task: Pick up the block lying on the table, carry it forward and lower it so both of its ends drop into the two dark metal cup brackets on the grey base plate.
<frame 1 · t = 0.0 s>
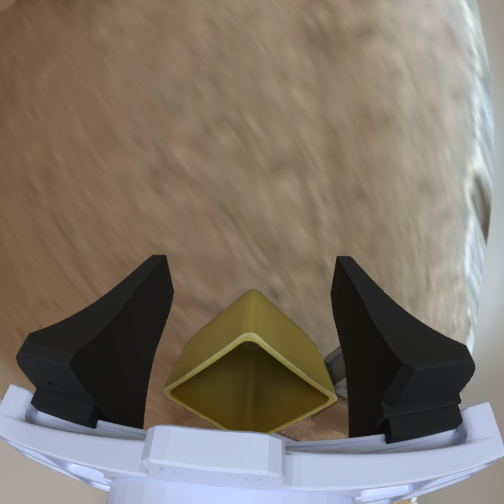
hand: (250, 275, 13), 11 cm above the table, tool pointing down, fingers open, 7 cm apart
block: (351, 399, 31), on the table
bracket: (393, 371, 29), on the table
flower pot: (255, 320, 27), on the table
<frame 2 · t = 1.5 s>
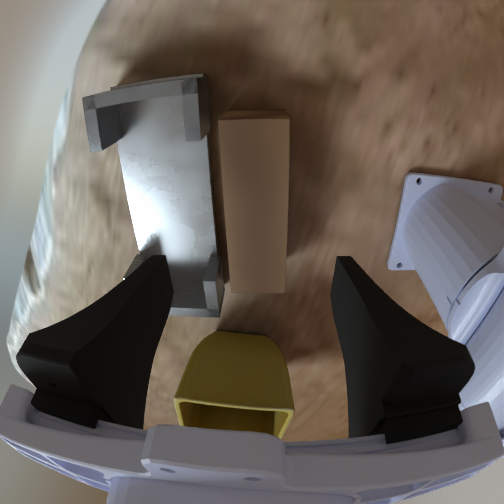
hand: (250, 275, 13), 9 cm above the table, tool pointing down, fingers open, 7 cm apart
block: (258, 190, 21), on the table
bracket: (171, 193, 21), on the table
flower pot: (240, 346, 30), on the table
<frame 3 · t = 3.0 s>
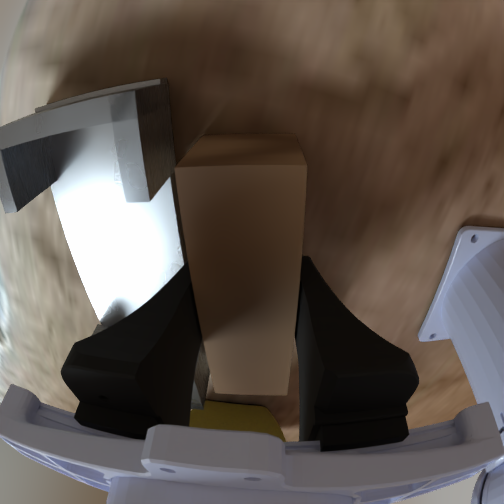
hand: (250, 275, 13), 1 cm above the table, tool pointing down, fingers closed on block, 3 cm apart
block: (252, 254, 14), on the table, touching gripper
bracket: (130, 254, 15), on the table
flower pot: (233, 412, 23), on the table
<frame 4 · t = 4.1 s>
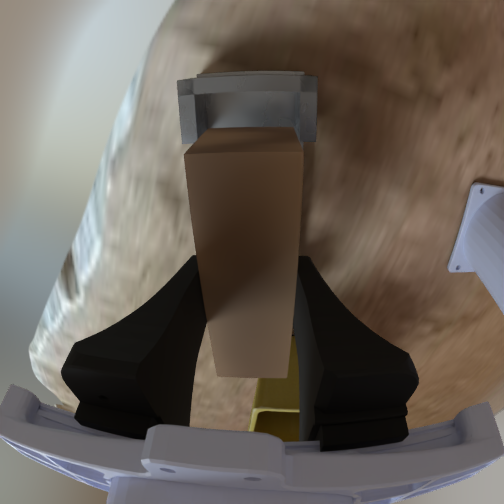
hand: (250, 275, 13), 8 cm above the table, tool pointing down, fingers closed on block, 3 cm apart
block: (253, 241, 15), point 6 cm above the table, touching gripper
bracket: (253, 194, 20), on the table
flower pot: (298, 349, 29), on the table
when the fingers open (3 cm above the table, at t = 5.4 s): block stays where it is, resting on bracket.
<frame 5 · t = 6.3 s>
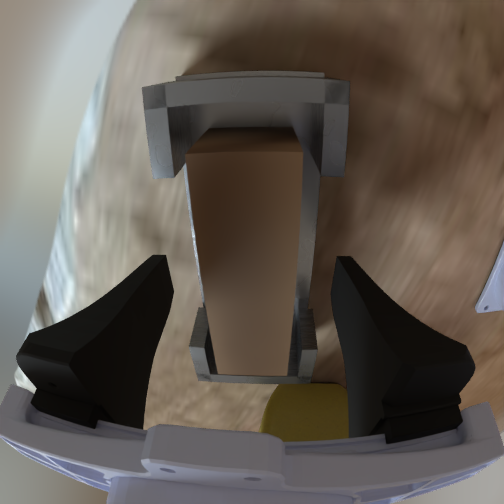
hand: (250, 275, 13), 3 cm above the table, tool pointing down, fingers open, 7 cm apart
block: (253, 240, 15), point 1 cm above the table, touching bracket
bracket: (254, 233, 16), on the table
flower pot: (304, 393, 25), on the table
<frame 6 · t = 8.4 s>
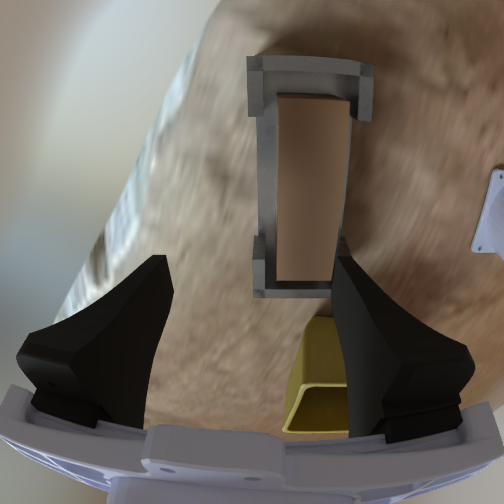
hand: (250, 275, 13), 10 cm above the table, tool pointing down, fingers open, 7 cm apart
block: (303, 175, 20), point 1 cm above the table, touching bracket
bracket: (302, 173, 21), on the table
flower pot: (330, 331, 29), on the table
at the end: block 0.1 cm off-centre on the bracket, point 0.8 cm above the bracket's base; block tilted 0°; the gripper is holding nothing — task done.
